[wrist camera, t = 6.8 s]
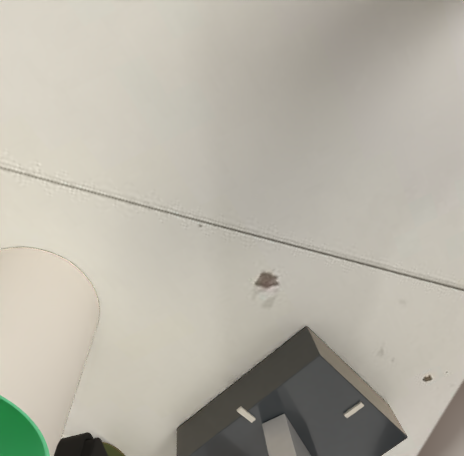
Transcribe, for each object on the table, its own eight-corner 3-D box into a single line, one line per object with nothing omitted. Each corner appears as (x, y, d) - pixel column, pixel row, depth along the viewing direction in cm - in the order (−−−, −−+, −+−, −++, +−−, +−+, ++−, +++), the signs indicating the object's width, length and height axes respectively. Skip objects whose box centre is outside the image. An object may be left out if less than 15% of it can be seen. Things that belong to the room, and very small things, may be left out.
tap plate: (300, 320, 28) (314, 350, 25) (393, 408, 32) (414, 444, 29) (170, 424, 30) (169, 463, 27) (271, 494, 34) (279, 536, 31)
